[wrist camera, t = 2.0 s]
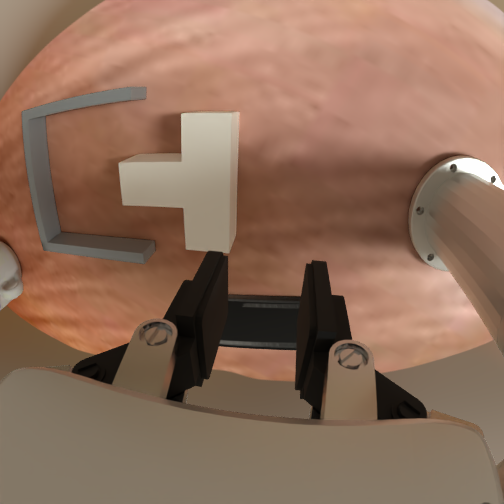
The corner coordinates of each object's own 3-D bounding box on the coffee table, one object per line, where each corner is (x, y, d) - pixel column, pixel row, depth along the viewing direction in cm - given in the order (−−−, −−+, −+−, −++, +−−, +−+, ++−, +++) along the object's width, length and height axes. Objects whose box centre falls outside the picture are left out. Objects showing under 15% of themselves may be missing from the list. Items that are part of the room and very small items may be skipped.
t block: (239, 111, 24) (231, 113, 21) (236, 234, 30) (229, 253, 27) (137, 114, 25) (116, 118, 22) (144, 227, 31) (128, 244, 27)
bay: (146, 87, 24) (130, 86, 21) (155, 250, 32) (144, 264, 30) (38, 107, 25) (21, 111, 23) (57, 239, 34) (43, 250, 31)
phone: (320, 350, 35) (202, 344, 37) (320, 344, 36) (204, 338, 38) (327, 300, 32) (192, 296, 33) (326, 294, 33) (195, 290, 34)
